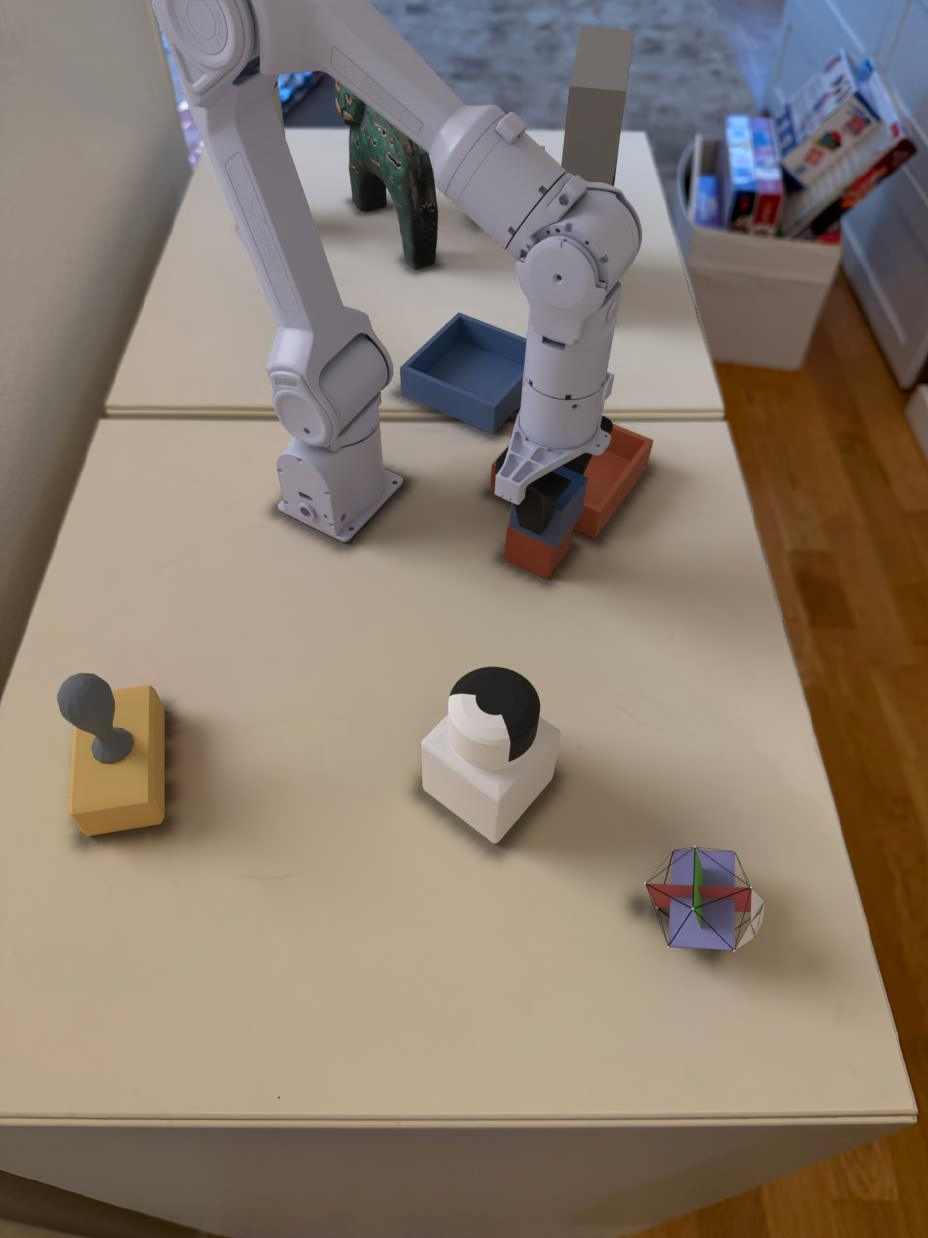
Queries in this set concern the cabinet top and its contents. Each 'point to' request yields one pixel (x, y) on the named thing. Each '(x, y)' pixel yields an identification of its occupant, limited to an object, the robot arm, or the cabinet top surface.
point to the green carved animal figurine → (391, 176)
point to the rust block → (534, 552)
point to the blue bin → (468, 372)
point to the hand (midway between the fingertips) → (546, 509)
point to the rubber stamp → (114, 754)
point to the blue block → (559, 510)
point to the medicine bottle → (490, 751)
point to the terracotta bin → (608, 478)
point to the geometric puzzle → (706, 900)
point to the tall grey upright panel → (597, 103)
